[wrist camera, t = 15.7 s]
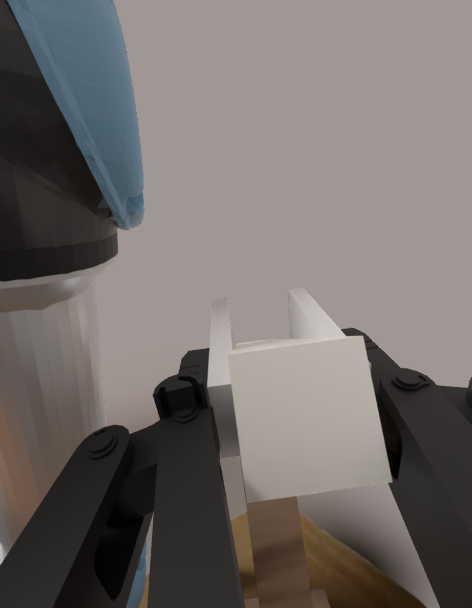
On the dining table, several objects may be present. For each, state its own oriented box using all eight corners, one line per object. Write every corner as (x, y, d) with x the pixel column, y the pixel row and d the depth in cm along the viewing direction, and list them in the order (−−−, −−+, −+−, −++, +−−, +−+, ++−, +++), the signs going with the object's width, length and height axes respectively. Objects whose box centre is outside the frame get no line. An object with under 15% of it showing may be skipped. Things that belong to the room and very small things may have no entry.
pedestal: (364, 721, 27) (312, 405, 31) (243, 738, 27) (207, 419, 31) (326, 604, 39) (292, 387, 43) (242, 615, 38) (216, 397, 43)
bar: (392, 482, 6) (363, 335, 6) (247, 503, 6) (227, 354, 6) (268, 367, 29) (264, 340, 30) (241, 371, 29) (237, 343, 30)
